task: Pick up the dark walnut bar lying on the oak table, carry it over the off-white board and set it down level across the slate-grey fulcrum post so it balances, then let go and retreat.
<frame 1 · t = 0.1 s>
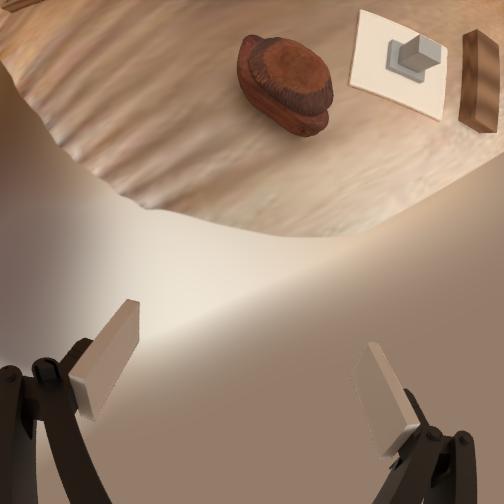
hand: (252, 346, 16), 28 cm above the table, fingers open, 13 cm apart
bar: (472, 81, 33), on the table
wooden figurine: (279, 101, 37), on the table
fulcrum: (401, 64, 34), on the table
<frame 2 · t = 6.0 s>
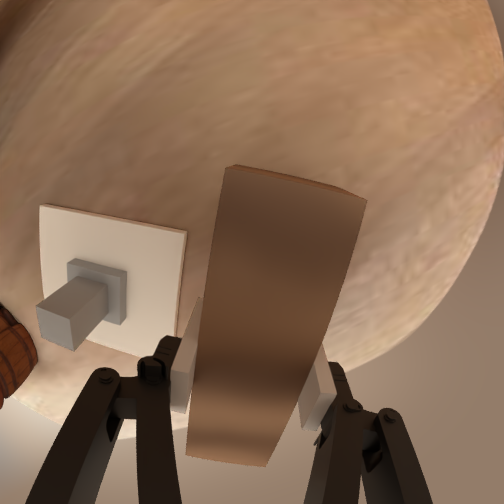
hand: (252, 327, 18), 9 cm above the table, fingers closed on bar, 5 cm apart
bar: (253, 321, 18), point 8 cm above the table, touching gripper
wooden figurine: (13, 329, 30), on the table
fulcrum: (104, 284, 27), on the table
when the fingers open (8 cm above the table, at t = 8.9 s): bar stays where it is, resting on fulcrum.
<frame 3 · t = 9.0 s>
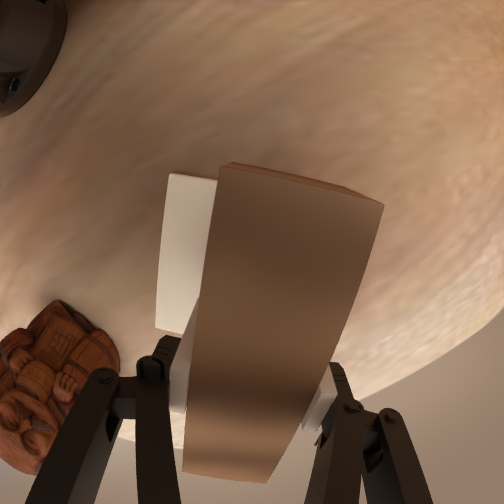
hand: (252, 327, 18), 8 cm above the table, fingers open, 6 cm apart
bar: (253, 333, 17), point 9 cm above the table, touching fulcrum
wooden figurine: (84, 337, 28), on the table
fulcrum: (254, 272, 25), on the table
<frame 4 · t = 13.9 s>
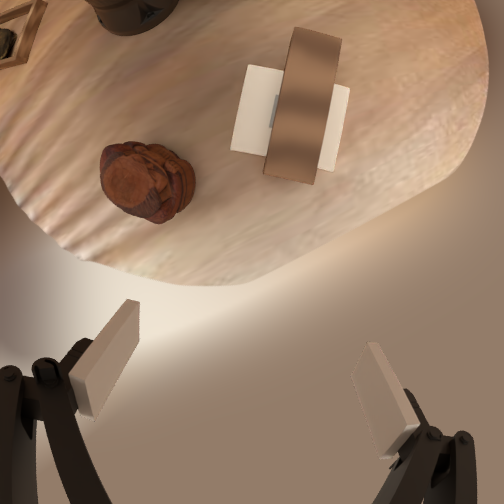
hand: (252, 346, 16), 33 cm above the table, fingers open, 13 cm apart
bar: (299, 107, 33), point 9 cm above the table, touching fulcrum
wooden figurine: (169, 172, 45), on the table
fulcrum: (291, 116, 42), on the table
wooden tray: (7, 41, 34), on the table
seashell: (3, 45, 34), on the table, touching wooden tray
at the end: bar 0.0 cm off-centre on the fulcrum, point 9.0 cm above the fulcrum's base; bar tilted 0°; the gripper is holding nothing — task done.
